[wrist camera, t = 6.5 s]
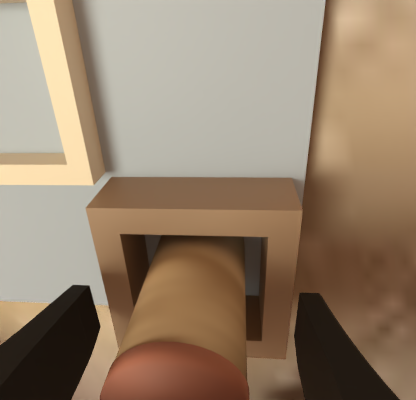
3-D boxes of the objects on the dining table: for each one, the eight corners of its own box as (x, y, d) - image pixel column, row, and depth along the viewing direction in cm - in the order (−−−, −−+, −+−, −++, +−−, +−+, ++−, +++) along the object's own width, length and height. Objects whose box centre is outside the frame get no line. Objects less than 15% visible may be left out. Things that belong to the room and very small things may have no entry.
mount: (5, 287, 18) (-44, 341, 15) (-126, -23, 11) (-262, -40, 8) (287, 297, 17) (297, 359, 13) (323, -48, 10) (360, -80, 7)
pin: (169, 280, 15) (122, 452, 9) (151, 211, 14) (79, 366, 8) (249, 275, 15) (255, 454, 9) (240, 203, 13) (241, 362, 7)
